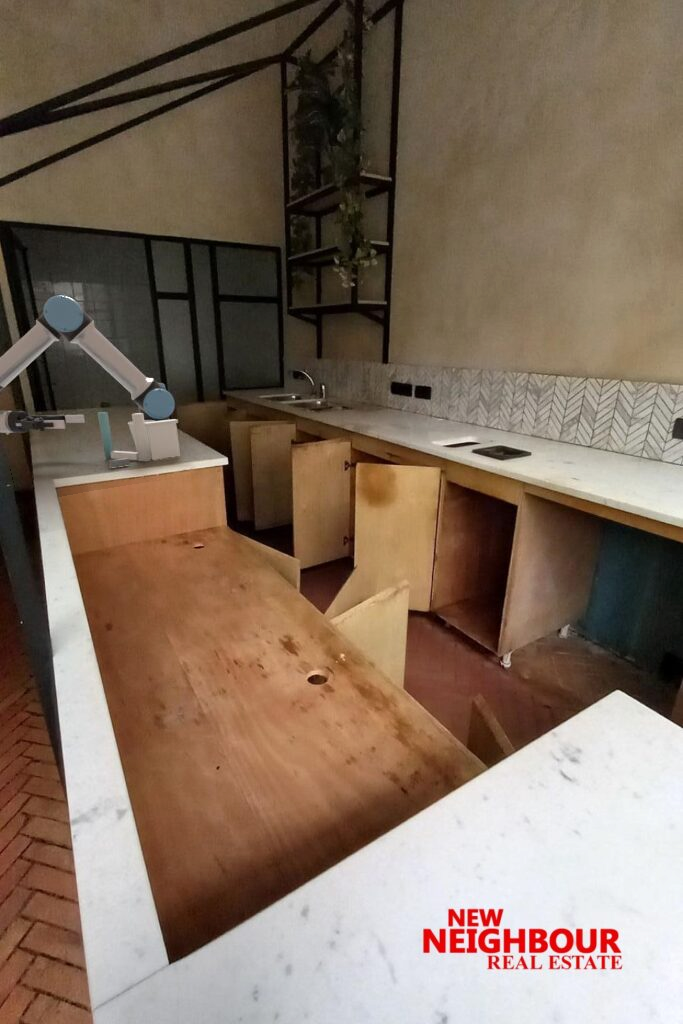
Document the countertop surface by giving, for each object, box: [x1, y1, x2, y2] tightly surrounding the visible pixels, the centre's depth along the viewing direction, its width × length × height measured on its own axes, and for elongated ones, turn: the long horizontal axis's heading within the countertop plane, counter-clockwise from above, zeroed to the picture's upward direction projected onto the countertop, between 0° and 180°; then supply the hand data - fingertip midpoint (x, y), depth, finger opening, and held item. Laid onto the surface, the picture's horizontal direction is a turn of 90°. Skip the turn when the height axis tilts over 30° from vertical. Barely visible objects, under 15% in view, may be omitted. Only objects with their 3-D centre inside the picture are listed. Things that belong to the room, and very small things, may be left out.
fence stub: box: [145, 418, 181, 460], centre depth 175 cm, size 11×3×13 cm, turn 130°
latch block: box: [108, 458, 131, 469], centre depth 165 cm, size 6×2×2 cm, turn 130°
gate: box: [97, 411, 151, 462], centre depth 172 cm, size 18×4×16 cm, turn 70°
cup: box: [127, 420, 154, 450], centre depth 188 cm, size 10×10×11 cm
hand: (74, 421), depth 173 cm, fingers open, 13 cm apart
